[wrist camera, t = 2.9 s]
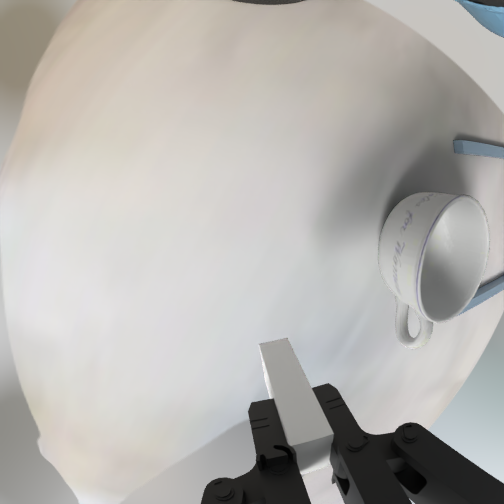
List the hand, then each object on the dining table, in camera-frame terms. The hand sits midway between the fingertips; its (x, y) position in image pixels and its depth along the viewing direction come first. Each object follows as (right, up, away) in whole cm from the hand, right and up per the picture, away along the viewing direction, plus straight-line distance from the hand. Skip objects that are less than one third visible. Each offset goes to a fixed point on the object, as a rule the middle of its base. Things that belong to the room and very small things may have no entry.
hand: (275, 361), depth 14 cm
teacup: (+14, +6, +11) cm, 18 cm away
